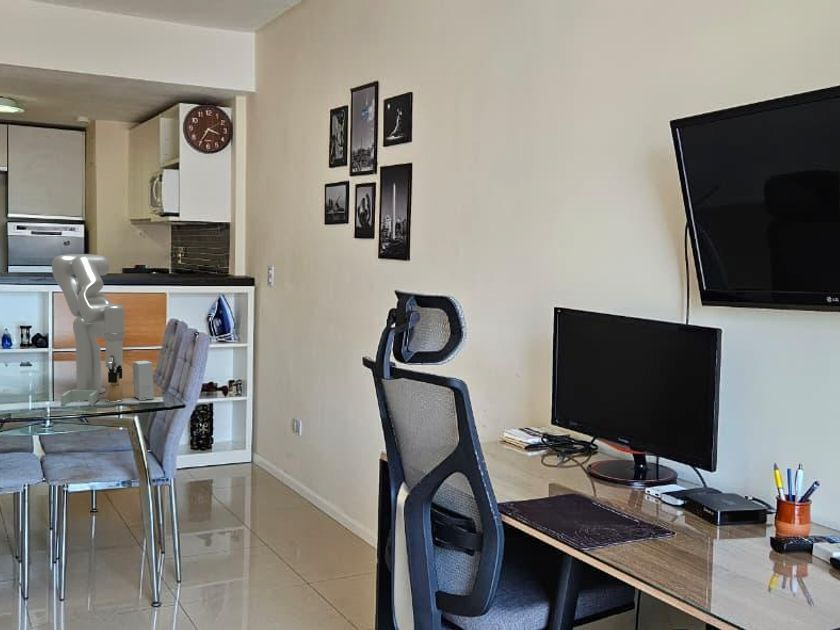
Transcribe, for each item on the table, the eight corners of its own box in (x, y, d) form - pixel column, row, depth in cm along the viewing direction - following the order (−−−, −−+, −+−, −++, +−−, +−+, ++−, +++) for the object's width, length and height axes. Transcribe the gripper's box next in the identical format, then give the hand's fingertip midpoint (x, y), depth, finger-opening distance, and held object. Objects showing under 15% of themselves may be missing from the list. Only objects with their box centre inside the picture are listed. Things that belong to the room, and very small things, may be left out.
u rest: (68, 400, 348) (68, 390, 348) (98, 400, 350) (98, 390, 349) (61, 405, 338) (61, 395, 338) (92, 405, 339) (92, 395, 339)
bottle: (109, 399, 352) (109, 371, 351) (124, 399, 353) (123, 371, 352) (106, 402, 347) (105, 374, 346) (121, 402, 347) (120, 374, 346)
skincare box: (154, 399, 353) (153, 362, 352) (138, 401, 350) (138, 363, 348) (147, 396, 360) (147, 359, 359) (132, 397, 357) (132, 360, 355)
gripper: (109, 334, 355) (110, 377, 357) (99, 339, 338) (100, 384, 340) (128, 334, 356) (129, 377, 358) (119, 339, 339) (120, 384, 341)
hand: (115, 380), depth 349 cm, fingers open, 9 cm apart
